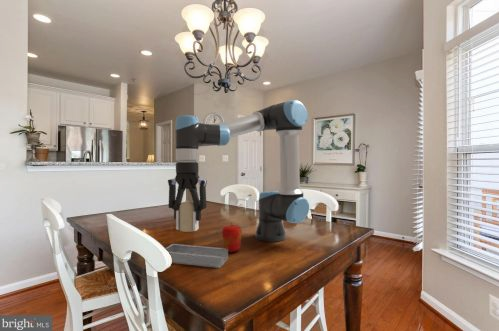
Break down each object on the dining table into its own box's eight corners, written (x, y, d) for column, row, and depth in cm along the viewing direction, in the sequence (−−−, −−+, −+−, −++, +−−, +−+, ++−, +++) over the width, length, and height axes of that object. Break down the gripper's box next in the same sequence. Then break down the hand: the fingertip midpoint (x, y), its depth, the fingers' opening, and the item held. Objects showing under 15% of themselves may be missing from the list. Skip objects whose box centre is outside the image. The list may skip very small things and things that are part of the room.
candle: (181, 227, 90) (181, 199, 90) (197, 227, 91) (197, 199, 91) (178, 232, 85) (178, 202, 85) (195, 231, 85) (195, 202, 85)
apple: (236, 255, 102) (236, 226, 102) (218, 252, 105) (218, 224, 105) (245, 248, 110) (245, 221, 110) (227, 246, 113) (227, 219, 113)
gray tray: (228, 258, 100) (228, 248, 100) (219, 268, 90) (219, 257, 90) (172, 252, 105) (172, 243, 105) (159, 261, 96) (159, 251, 96)
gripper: (216, 161, 88) (216, 228, 89) (168, 161, 93) (168, 225, 93) (208, 161, 81) (208, 234, 82) (156, 161, 85) (157, 230, 86)
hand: (187, 229), depth 87 cm, fingers closed on candle, 5 cm apart
